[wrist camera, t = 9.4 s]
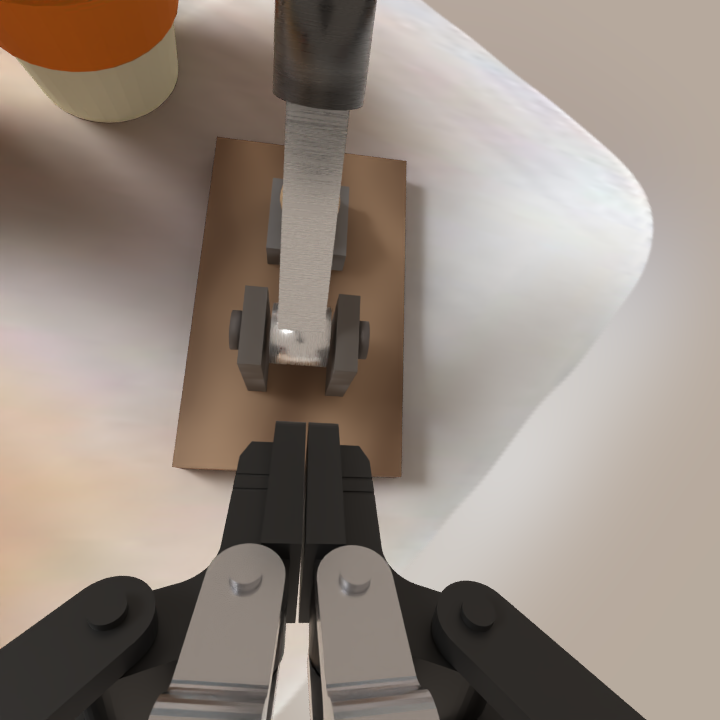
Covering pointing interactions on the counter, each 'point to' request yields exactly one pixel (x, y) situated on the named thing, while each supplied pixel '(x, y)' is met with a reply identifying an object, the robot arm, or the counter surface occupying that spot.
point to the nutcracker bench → (261, 289)
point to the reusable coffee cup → (95, 53)
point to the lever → (314, 159)
